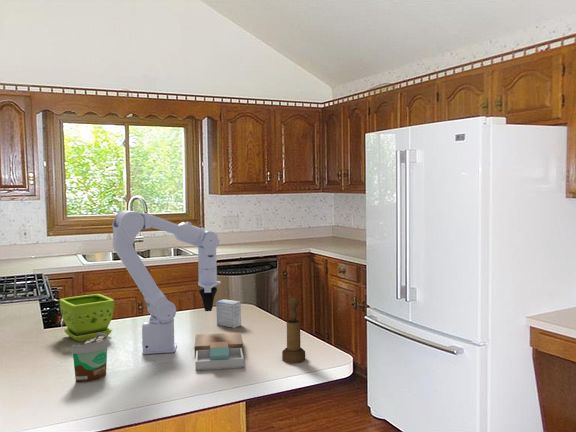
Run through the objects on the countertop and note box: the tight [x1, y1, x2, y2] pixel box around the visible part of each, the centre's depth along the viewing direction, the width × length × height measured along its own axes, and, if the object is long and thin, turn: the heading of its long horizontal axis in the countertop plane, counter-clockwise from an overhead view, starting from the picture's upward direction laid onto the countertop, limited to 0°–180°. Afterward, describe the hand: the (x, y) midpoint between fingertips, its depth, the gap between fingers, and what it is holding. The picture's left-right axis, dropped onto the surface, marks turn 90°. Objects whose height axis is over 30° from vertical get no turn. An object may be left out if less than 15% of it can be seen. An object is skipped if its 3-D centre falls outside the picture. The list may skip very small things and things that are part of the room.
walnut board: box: [194, 331, 244, 359], centre depth 157 cm, size 14×12×4 cm
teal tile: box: [210, 347, 229, 360], centre depth 142 cm, size 5×5×2 cm
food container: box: [70, 333, 111, 383], centre depth 136 cm, size 12×6×10 cm, turn 168°
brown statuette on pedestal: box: [281, 296, 306, 364], centre depth 148 cm, size 7×6×18 cm
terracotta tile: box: [210, 342, 228, 348], centre depth 147 cm, size 5×5×2 cm
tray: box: [194, 348, 245, 372], centre depth 146 cm, size 13×10×2 cm
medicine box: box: [215, 299, 242, 329], centre depth 185 cm, size 8×4×9 cm, turn 58°
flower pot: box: [59, 293, 115, 343], centre depth 173 cm, size 14×14×13 cm
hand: (208, 310), depth 166 cm, fingers closed
